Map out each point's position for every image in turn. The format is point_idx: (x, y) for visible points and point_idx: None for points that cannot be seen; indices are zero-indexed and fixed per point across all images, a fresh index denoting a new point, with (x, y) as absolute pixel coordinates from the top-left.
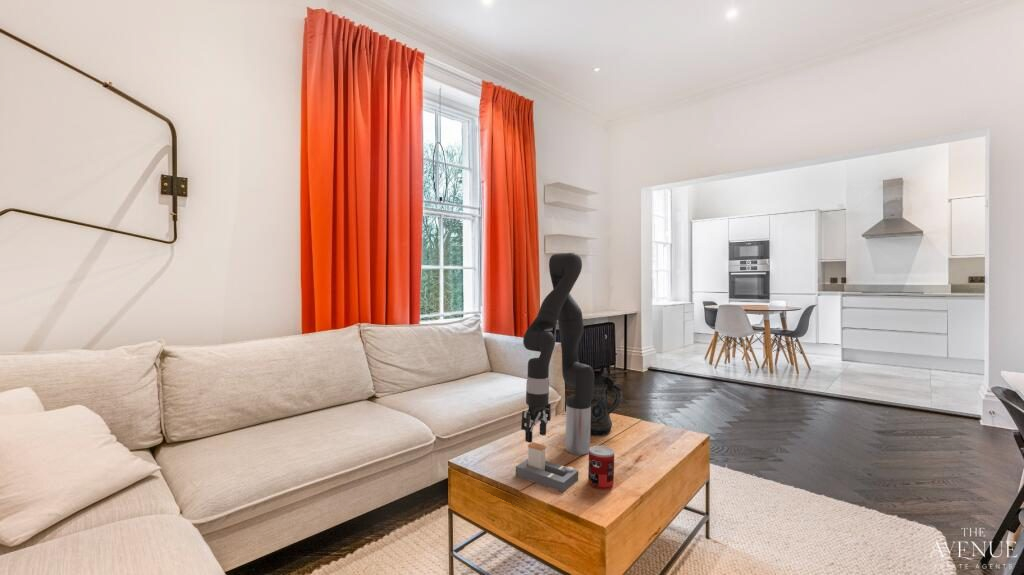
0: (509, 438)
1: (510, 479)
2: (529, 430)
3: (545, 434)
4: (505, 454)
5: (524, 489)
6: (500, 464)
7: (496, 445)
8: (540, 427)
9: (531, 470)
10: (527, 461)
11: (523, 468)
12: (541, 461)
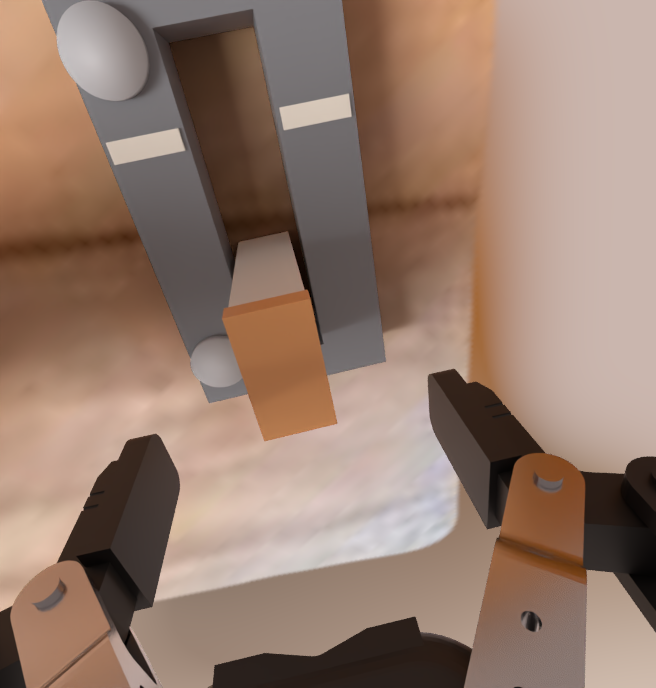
0: None
1: (422, 320)
2: (572, 477)
3: (138, 438)
4: (251, 508)
5: (460, 192)
6: (341, 451)
7: (224, 578)
8: (159, 546)
9: (358, 267)
10: None
11: (372, 318)
12: (288, 261)
